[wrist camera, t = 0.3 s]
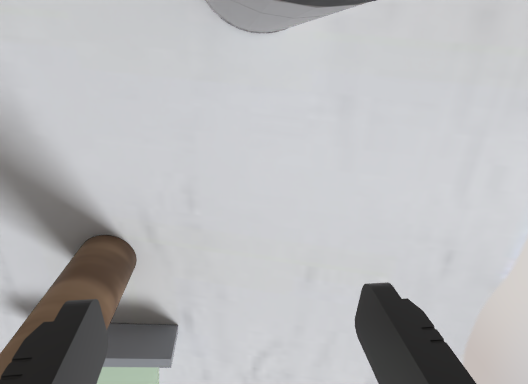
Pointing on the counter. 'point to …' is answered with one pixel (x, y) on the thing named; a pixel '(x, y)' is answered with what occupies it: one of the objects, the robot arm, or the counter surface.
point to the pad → (129, 375)
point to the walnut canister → (82, 286)
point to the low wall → (140, 345)
